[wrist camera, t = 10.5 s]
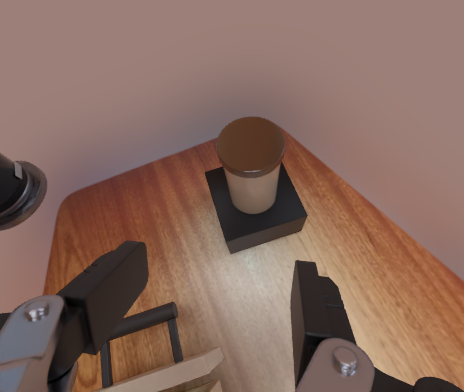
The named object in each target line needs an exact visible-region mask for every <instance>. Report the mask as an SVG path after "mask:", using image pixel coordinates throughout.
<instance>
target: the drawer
mask: <svg viewBox="0 0 464 392" xmlns="http://www.w3.org/2000/svg"><path fill="white" fill-rule="evenodd" d="M177 317H178V311H177V307H176V304H175V303H174V302H171V303H168V304H165V305H162V306H159V307H156V308H153V309H150V310H147V311H144V312H141V313H138V314H135V315H132V316H129V317H126V318H123V319H122V320H121V321H120V323H119V324H118V326H117V327H116V328H115V330H114V331H113V332H112V334H111V335H110V337H109V338H108V339H107V341H106V342H105V343H104V345H103V346H102V348H101V349H100V355H101V370H102V386H103V387H102V388H100V389H97V390H95V391H92V392H159V391H162V390H165V389H168V388H171V387H174V386H176V385H179V384H182V383H185V382H188V381H191V380H193V379H196V378H199V377H202V376H205V375H208V374H209V373H210V372H211V371H212V370H213V369H214V368H215V367H216V366H217V365H218V364H219V363H220V362H221V361H222V360H223V359H224V358H223V354H222V350H221V346H219V347H216V348H214V349H211V350H208V351H205V352H202V353H199V354H196V355H193V356H191V357H188V358H185V359H183V356H182V350H181V345H180V340H179V334H178V329H177V324H176V319H175V318H177ZM166 321H167V322H168V328H169V333H170V339H171V345H172V351H173V356H174V362H173V363H170V364H168V365H165V366H162V367H159V368H156V369H153V370H150V371H147V372H145V373H142V374H139V375H136V376H133V377H130V378H127V379H124V380H122V381H119V382H116V383H113V379H112V366H111V354H110V342H109V341H110V340H113V339H116V338H119V337H122V336H125V335H128V334H131V333H134V332H137V331H140V330H143V329H146V328H149V327H152V326H155V325H158V324H160V323H163V322H166ZM184 392H223V391H222V387H221V383H220V379H218V380H216V381H213V382H210V383H207V384H204V385H201V386H199V387H196V388H193V389H190V390H187V391H184Z"/></svg>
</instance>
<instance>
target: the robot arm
mask: <svg viewBox="0 0 464 392" xmlns="http://www.w3.org/2000/svg"><path fill="white" fill-rule="evenodd" d="M32 187H33V178H32V175H31V173H30V172H29V171H28V170H26V169H25V168H23V167H22V166H21V165H19V164H18V163H16V162H15V161H14V162H13V161H11V160H10V159H9V158H7V157H6V156H4V155H3V154H1V153H0V218H3V217H6V216H8V215H10V214H11V213H13V212H15V211H16V210H17V209H18V208H20V207H21V206H22V205H23V204H24V202H25V201H26V200H27V198H28V197H29V195H30V193H31V191H32ZM148 275H149V273H148V261H147V250H146V245H145V243H143V242H136V241H125V242H123V243H122V244H121V245H120V246H119V247H118V248H117V249H115V250H114V251H110V252H108V253H106V254H104V255H102V256H100V257H99V258H98V259H97V260H95V261H94V262H93V263H92V264H91V266H88V267H87V268H86V269H85V270H84V272H81V273H80V274H79V275H78V276H77V277H76V278H74V279H73V280H72V281H71V282H70V283H69V284H67V285H66V286H65V287H64V288H63V289H62V290H60V291H59V292H58V293H57V294H56V295H43V296H39V297H36V298H33V299H30V300H28V301H26V302H25V303H23V304H21V305H20V306H18V307H17V308H16V309H15V310H14V311H13V312H12V313H2V314H0V392H73V387H74V383H75V379H76V375H77V370H78V362H77V359H78V358H79V357H80V355H81V354H82V353H87V354H92V355H96V354H97V353H98V352H99V350H100V349H101V348H102V346H103V345H104V343H105V342H106V341H107V339H108V338H109V337H110V335H111V334H112V332H113V331H114V330H115V328H116V327H117V326H118V324H119V323H120V321H121V320H122V319H123V317H124V316H125V315H126V313H127V312H128V310H129V309H130V308H131V306H132V305H133V304H134V302H135V301H136V299H137V298H138V297H139V295H140V294H141V293H142V291H143V290H144V288H145V287H146V284H147V281H148ZM291 324H292V341H293V357H294V374H295V392H464V391H463V390H462V389H460V388H459V387H457V386H455V385H454V384H452V383H450V382H448V381H445V380H443V379H439V378H435V377H423V378H420V379H418V380H417V381H416V383H415V385H414V386H412V385H410V384H407V383H405V382H403V381H401V380H398V379H396V378H394V377H391V376H389V375H387V374H385V373H383V372H381V371H380V370H378V369H377V368H375V367H374V366H373V363H372V361H371V360H370V358H369V357H368V355H367V354H366V353H365V352H364V351H363V350H362V349H361V348H360V347H358V346H357V344H356V341H355V338H354V335H353V332H352V329H351V326H350V323H349V320H348V317H347V313H346V310H345V309H344V304H343V301H342V300H341V295H340V292H339V289H338V287H337V285H336V284H335V283H334V282H333V281H332V280H331V279H330V278H329V277H322V276H319V275H318V271H317V267H316V263H315V262H307V261H299V260H296V261H295V267H294V275H293V283H292V291H291Z"/></svg>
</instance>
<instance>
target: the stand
mask: <svg viewBox="0 0 464 392" xmlns="http://www.w3.org/2000/svg"><path fill="white" fill-rule="evenodd" d="M205 175H206V179H207V182H208V185H209V188H210V192H211V195H212V198H213V201H214V205H215V208H216V211H217V214H218V218H219V221H220V224H221V227H222V231H223V234H224V237H225V241H226V243H227V246H228V248H229V251H230V253H231V254H232V253H235V252H238V251H241V250H244V249H247V248H250V247H253V246H256V245H259V244H262V243H265V242H268V241H271V240H274V239H277V238H280V237H283V236H286V235H290V234H293V233H296V232H299V231H301V229H302V227H303V225H304V223H305V220H306V218H307V216H308V215H307V213H306V211H305V209H304V207H303V205H302V203H301V201H300V199H299V196H298V194H297V192H296V190H295V188H294V186H293V184H292V182H291V180H290V178H289V176H288V173H287V171H286V169H285V167H284V165H283V163H282V161H281V164H280V172H279V179H278V187H277V195H276V199H275V202H274V203H273V205H272V206H271V207H270V208H269V209H267V210H266V211H264V212H261V213H258V214H248V213H245V212H242V211H240V210H239V209H237V208H236V207H235V206H234V205H233V203H232V201H231V198H230V194H229V190H228V186H227V181H226V177H225V173H224V168H223V167H220V168H217V169H214V170H210V171H207V172H205Z"/></svg>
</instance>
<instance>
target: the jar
mask: <svg viewBox="0 0 464 392" xmlns="http://www.w3.org/2000/svg"><path fill="white" fill-rule="evenodd" d="M216 148H217V153H218V157H219V160H220V163H221V164H222V166H223V168H224V173H225V177H226V181H227V186H228V190H229V194H230V198H231V201H232V203H233V205H234V206H235V207H236V208H237V209H239V210H240V211H242V212H245V213H248V214H258V213H261V212H264V211H266V210H267V209H269V208H270V207H271V206H272V205H273V203H274V202H275V199H276V195H277V187H278V179H279V172H280V164H281V161H282V159H283V157H284V152H285V138H284V135H283V133H282V131H281V129H280V128H279V127H278V126H277V125H276V124H274V123H273V122H271V121H269V120H267V119H265V118H261V117H244V118H240V119H237V120H235V121H233V122H231V123H229V124H228V125H227V126H226V127H225V128H224V129H223V130H222V131H221V133H220V134H219V136H218V139H217V145H216Z"/></svg>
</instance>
